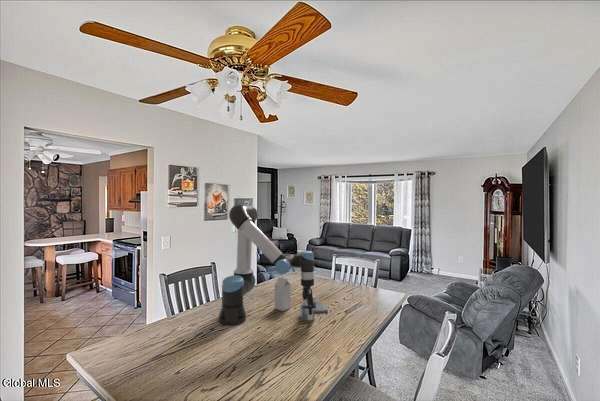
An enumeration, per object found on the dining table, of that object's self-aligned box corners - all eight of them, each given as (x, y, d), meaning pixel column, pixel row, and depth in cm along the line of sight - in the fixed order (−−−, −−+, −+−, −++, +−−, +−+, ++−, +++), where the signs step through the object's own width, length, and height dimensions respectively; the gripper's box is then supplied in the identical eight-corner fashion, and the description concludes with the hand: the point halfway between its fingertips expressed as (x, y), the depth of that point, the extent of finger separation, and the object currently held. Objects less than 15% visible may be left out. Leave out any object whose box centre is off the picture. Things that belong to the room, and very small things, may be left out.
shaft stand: (305, 313, 171) (305, 300, 171) (301, 305, 184) (301, 292, 184) (327, 312, 173) (328, 299, 173) (322, 304, 187) (322, 291, 187)
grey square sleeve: (301, 320, 161) (302, 309, 161) (299, 315, 168) (300, 305, 168) (314, 319, 162) (314, 309, 162) (311, 315, 169) (311, 304, 169)
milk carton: (283, 311, 174) (283, 280, 174) (274, 308, 178) (274, 278, 178) (290, 308, 179) (290, 277, 179) (281, 305, 184) (282, 275, 184)
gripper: (318, 284, 153) (319, 323, 152) (309, 272, 178) (309, 306, 177) (305, 284, 151) (305, 324, 151) (297, 273, 176) (297, 307, 176)
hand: (307, 315), depth 164 cm, fingers open, 13 cm apart
